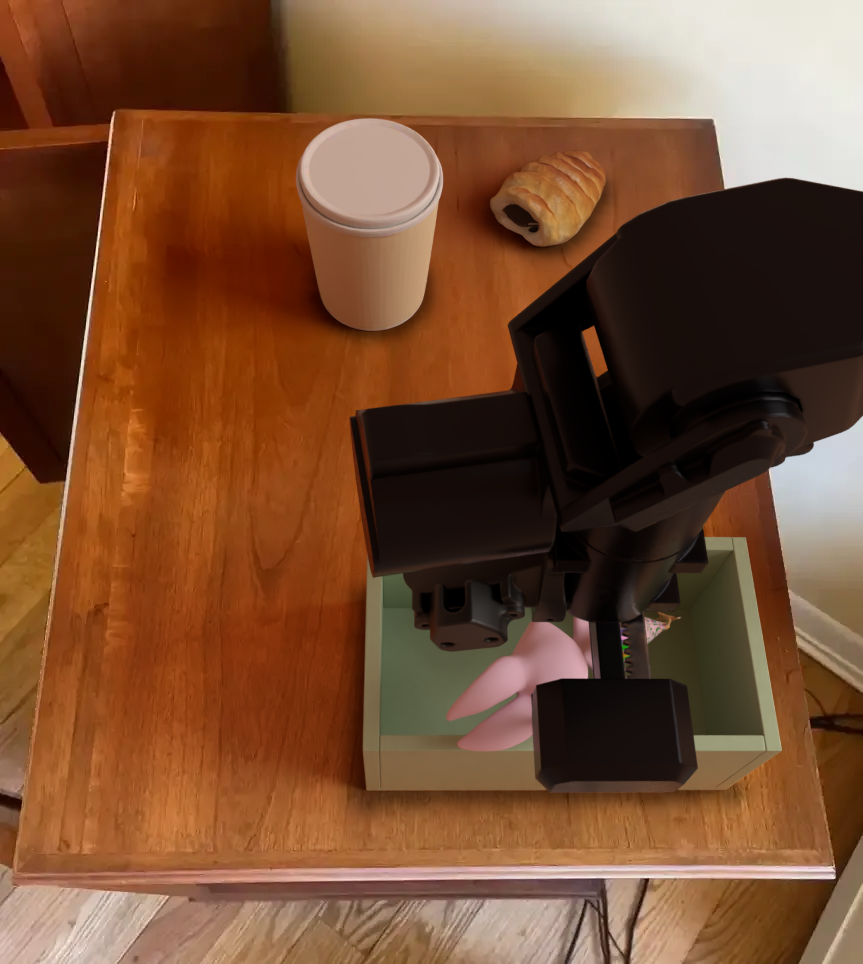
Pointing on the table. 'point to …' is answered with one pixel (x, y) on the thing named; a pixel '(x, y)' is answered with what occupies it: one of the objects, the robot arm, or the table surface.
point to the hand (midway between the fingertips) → (566, 633)
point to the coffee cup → (370, 219)
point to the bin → (672, 654)
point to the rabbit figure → (528, 680)
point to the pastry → (550, 197)
